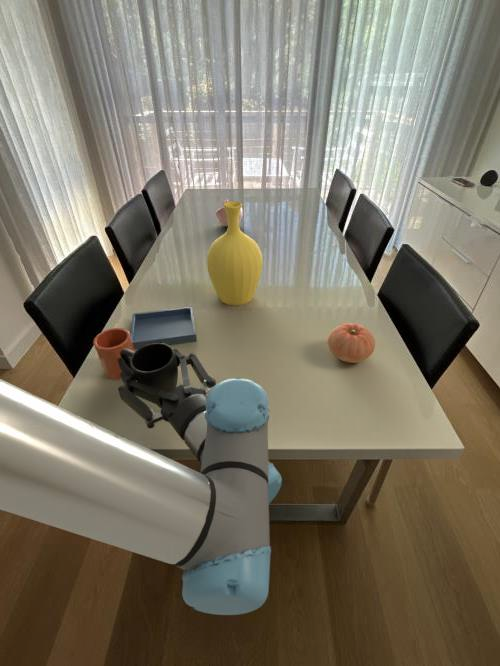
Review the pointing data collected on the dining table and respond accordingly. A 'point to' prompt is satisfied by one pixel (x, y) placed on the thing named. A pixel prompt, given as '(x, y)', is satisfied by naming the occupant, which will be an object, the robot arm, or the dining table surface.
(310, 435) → the dining table surface
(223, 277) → the vase
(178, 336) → the tray
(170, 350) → the mug
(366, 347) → the orange pumpkin
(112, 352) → the terracotta cup
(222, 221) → the mortar and pestle
